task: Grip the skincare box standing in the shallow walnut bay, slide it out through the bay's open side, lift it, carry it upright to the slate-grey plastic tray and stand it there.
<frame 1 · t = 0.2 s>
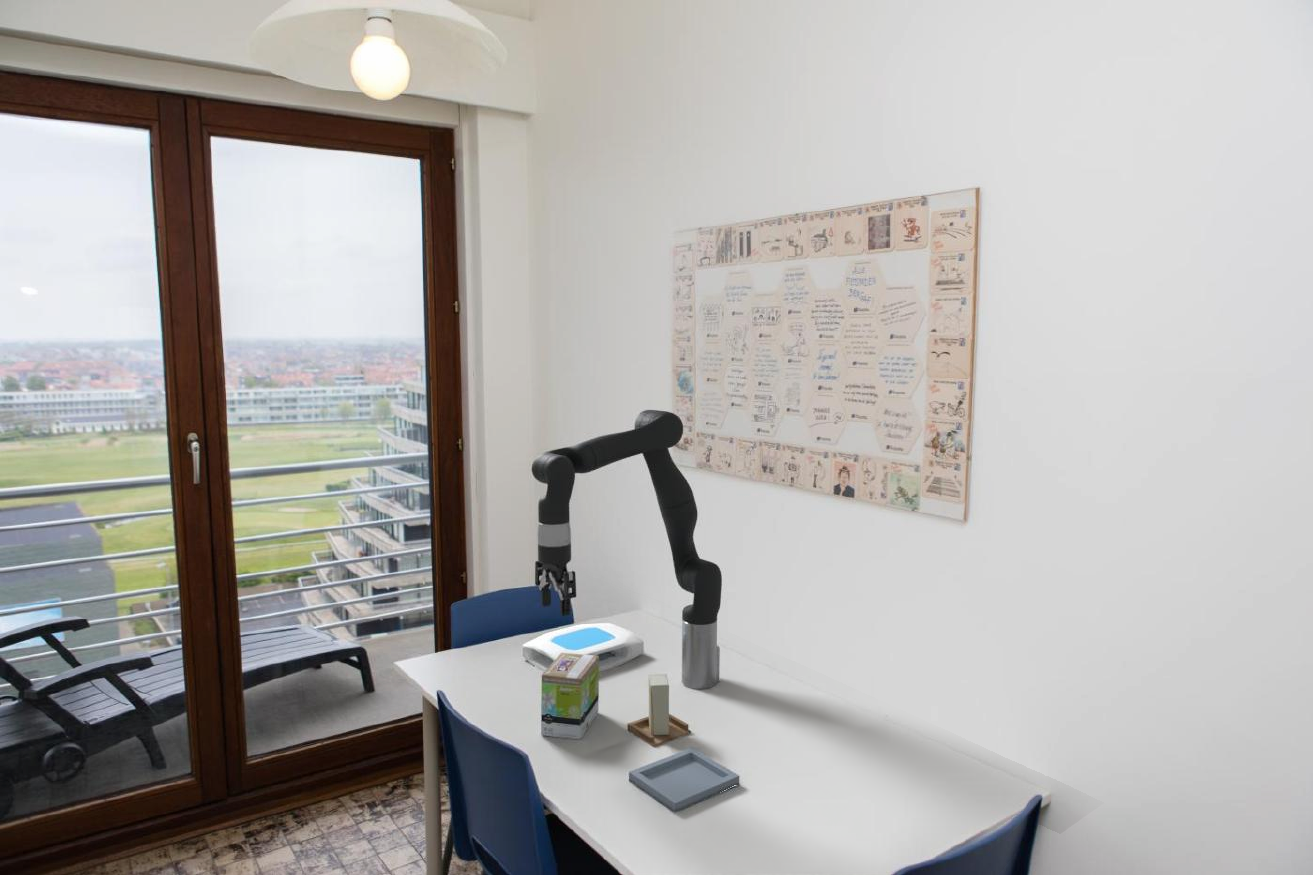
hand: (555, 610, 194), 29 cm above the table, tool pointing down, fingers open, 8 cm apart
tray: (683, 782, 174), on the table
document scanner: (583, 659, 242), on the table
skincare box: (659, 730, 196), resting on holder
tea box: (570, 724, 201), on the table
holder: (659, 731, 197), on the table
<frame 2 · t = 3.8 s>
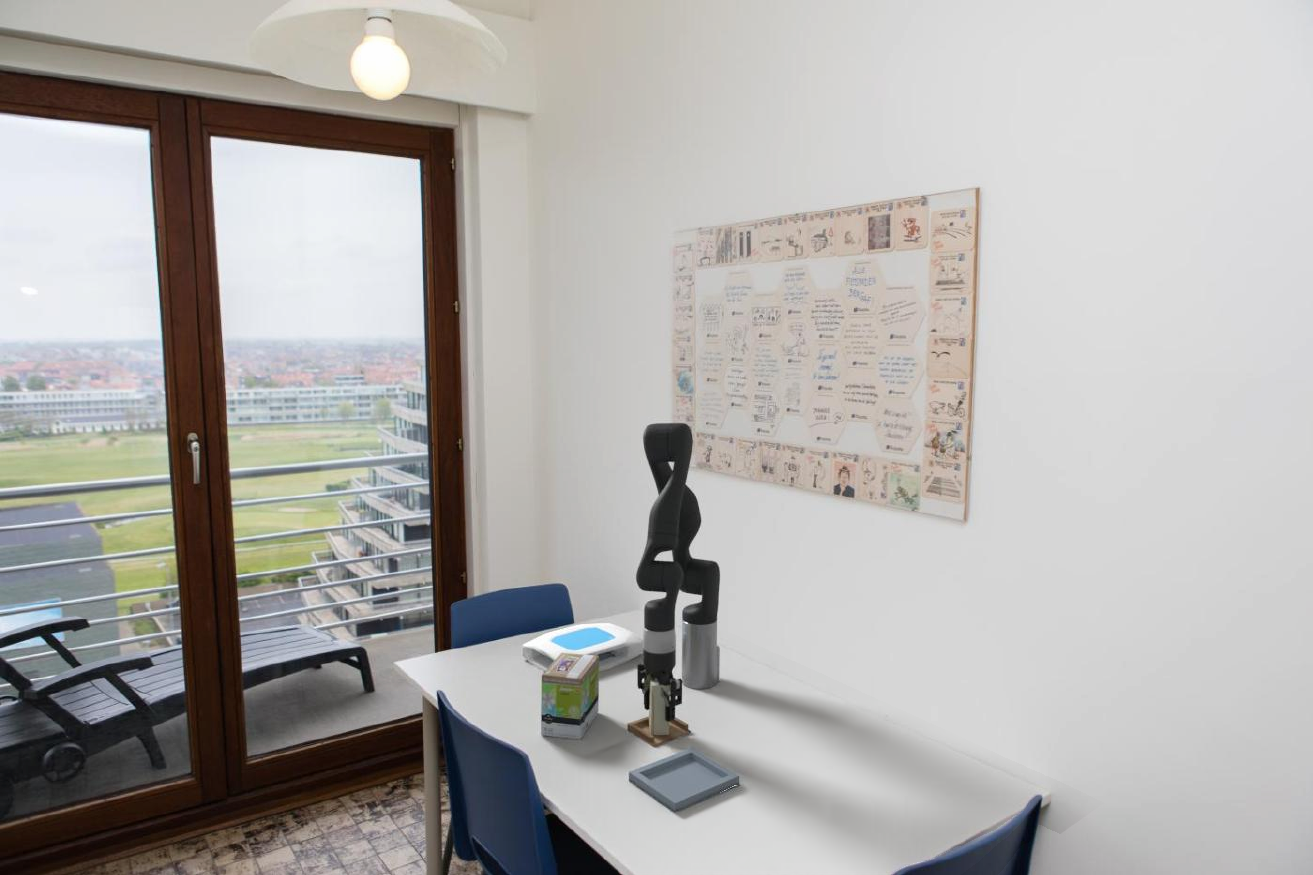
hand: (659, 714, 196), 4 cm above the table, tool pointing down, fingers closed on skincare box, 7 cm apart
skincare box: (659, 730, 196), resting on holder, touching gripper
everything else where it was.
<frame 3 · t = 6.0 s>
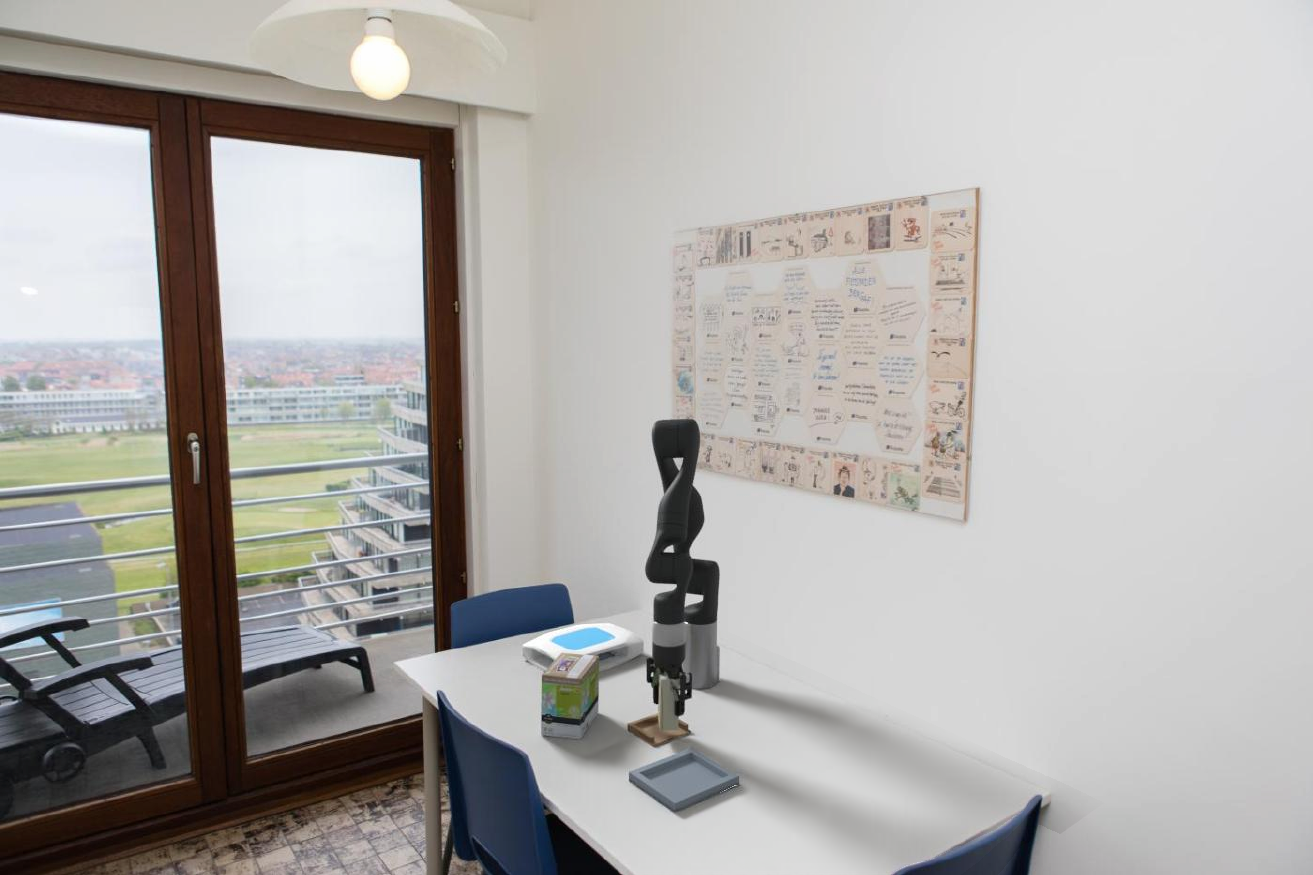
hand: (668, 709, 193), 7 cm above the table, tool pointing down, fingers closed on skincare box, 7 cm apart
skincare box: (668, 725, 193), point 3 cm above the table, touching gripper
everything else where it was.
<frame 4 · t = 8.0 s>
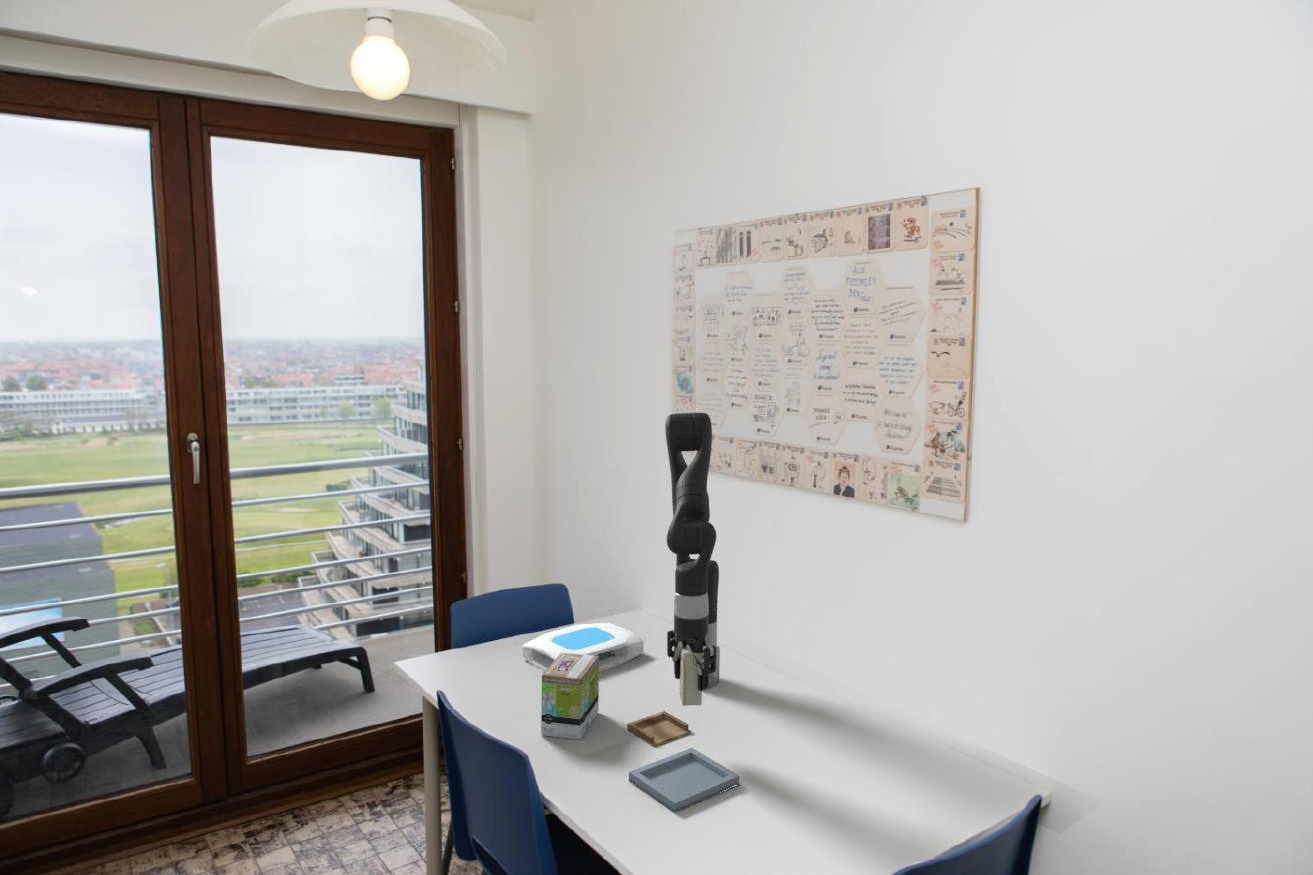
hand: (690, 683, 186), 15 cm above the table, tool pointing down, fingers closed on skincare box, 7 cm apart
skincare box: (690, 700, 187), point 11 cm above the table, touching gripper
everything else where it was.
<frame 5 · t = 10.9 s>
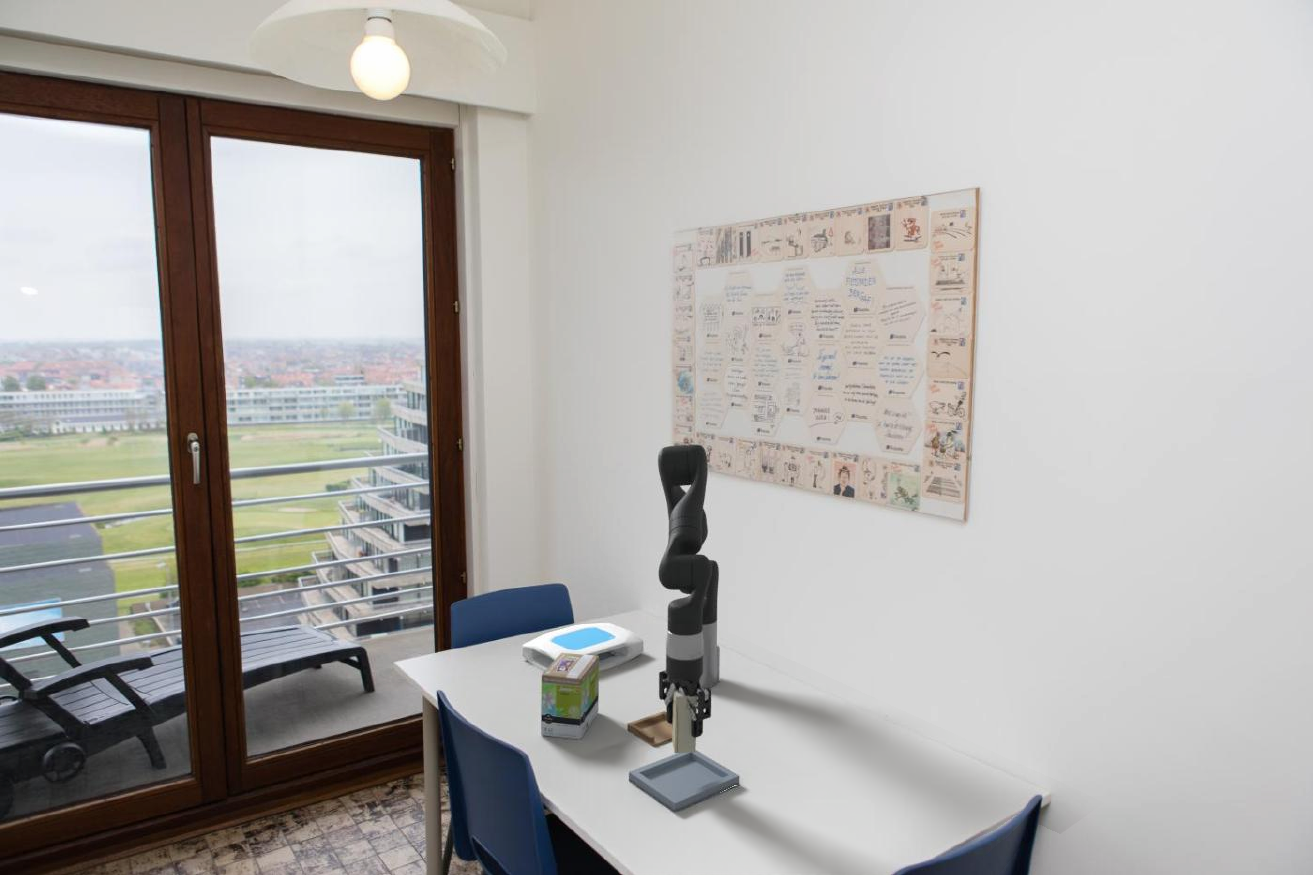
hand: (684, 729, 173), 12 cm above the table, tool pointing down, fingers closed on skincare box, 7 cm apart
skincare box: (684, 747, 173), point 8 cm above the table, touching gripper
everything else where it was.
when the fingers open (6 cm above the table, at t = 12.6 s): skincare box drops 2 cm, resting on tray.
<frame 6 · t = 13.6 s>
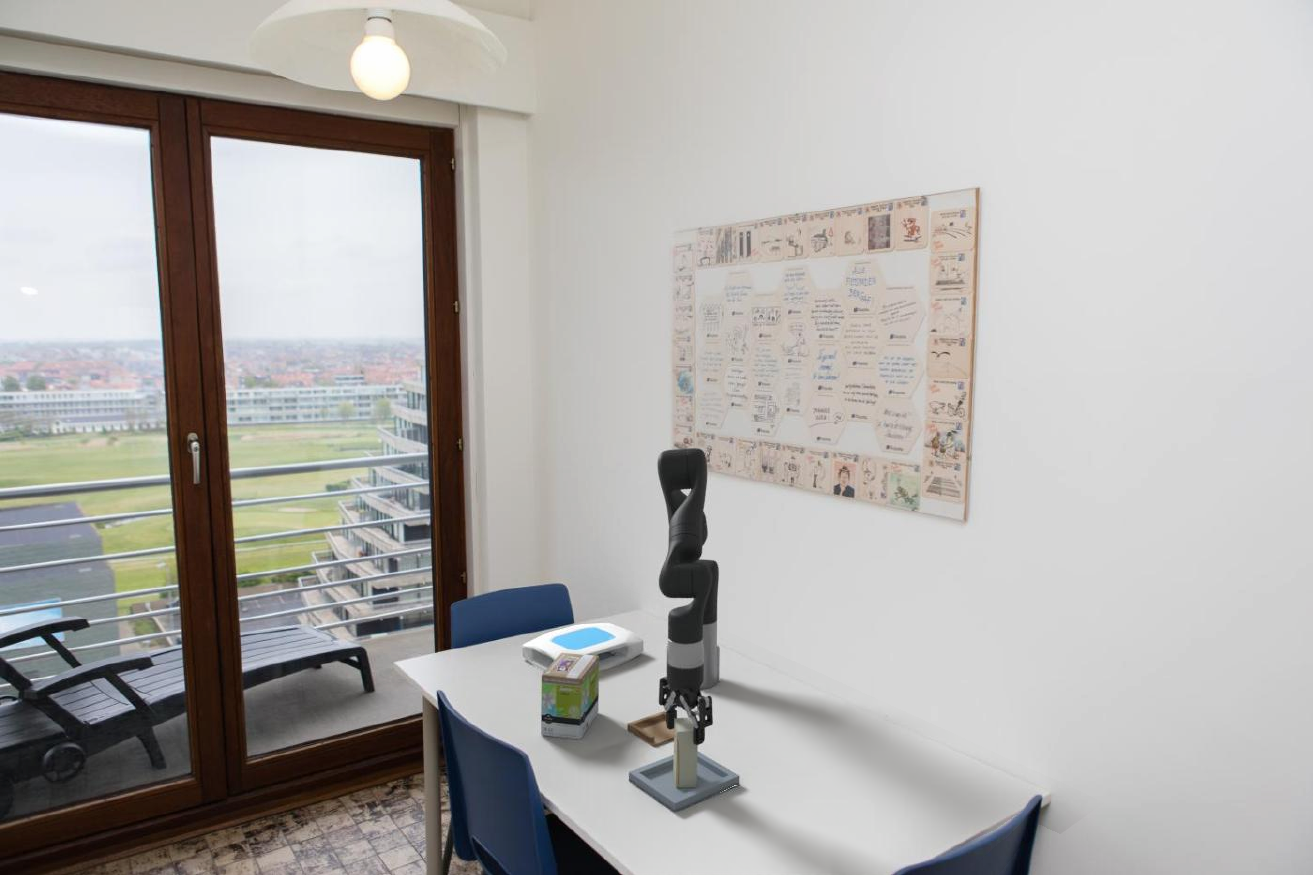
hand: (684, 735, 173), 10 cm above the table, tool pointing down, fingers open, 8 cm apart
skincare box: (685, 781, 174), resting on tray
everything else where it was.
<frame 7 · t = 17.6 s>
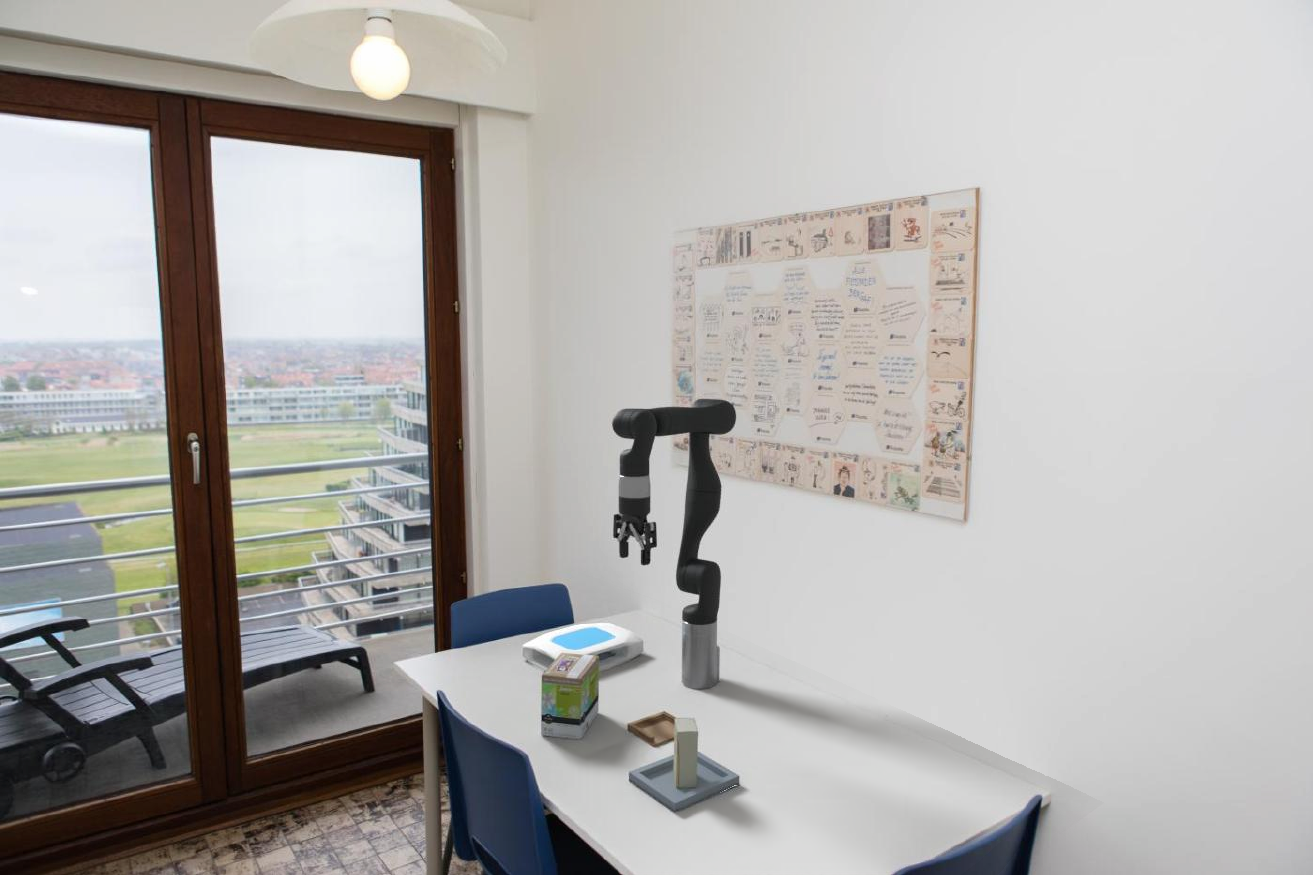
hand: (634, 560, 201), 38 cm above the table, tool pointing down, fingers open, 8 cm apart
nothing on the table moved.
at the end: skincare box inside the target area on the tray (0.3 cm from its centre), point 0.4 cm above the tray's base; skincare box tilted 0°; the gripper is holding nothing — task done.
